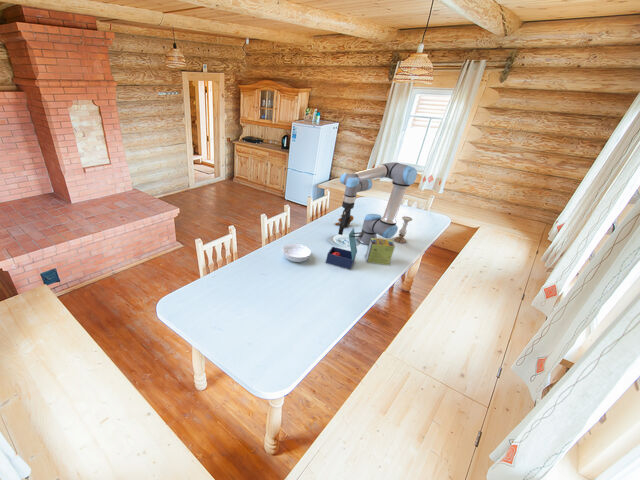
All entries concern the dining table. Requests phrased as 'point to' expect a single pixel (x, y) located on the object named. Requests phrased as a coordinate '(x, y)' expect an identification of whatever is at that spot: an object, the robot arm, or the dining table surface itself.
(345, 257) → the lunchbox
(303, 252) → the serving bowl
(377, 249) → the protein box
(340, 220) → the teddy bear
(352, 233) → the lid
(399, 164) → the robot arm
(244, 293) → the dining table surface
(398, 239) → the candle holder
